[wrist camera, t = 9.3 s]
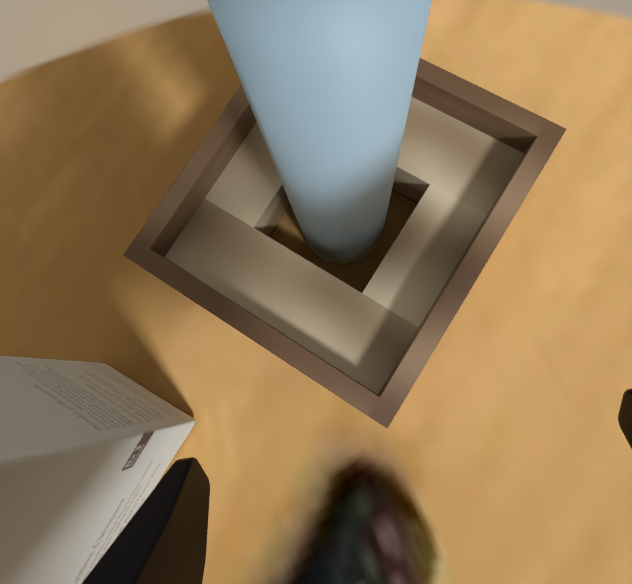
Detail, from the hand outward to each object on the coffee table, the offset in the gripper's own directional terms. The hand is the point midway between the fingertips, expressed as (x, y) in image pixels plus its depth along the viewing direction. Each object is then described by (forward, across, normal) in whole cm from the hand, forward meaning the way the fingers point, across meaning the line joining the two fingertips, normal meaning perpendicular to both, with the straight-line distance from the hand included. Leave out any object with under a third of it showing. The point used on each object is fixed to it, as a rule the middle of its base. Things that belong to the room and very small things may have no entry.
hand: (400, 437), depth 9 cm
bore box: (+14, 0, +1) cm, 14 cm away
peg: (+14, 0, +1) cm, 14 cm away
